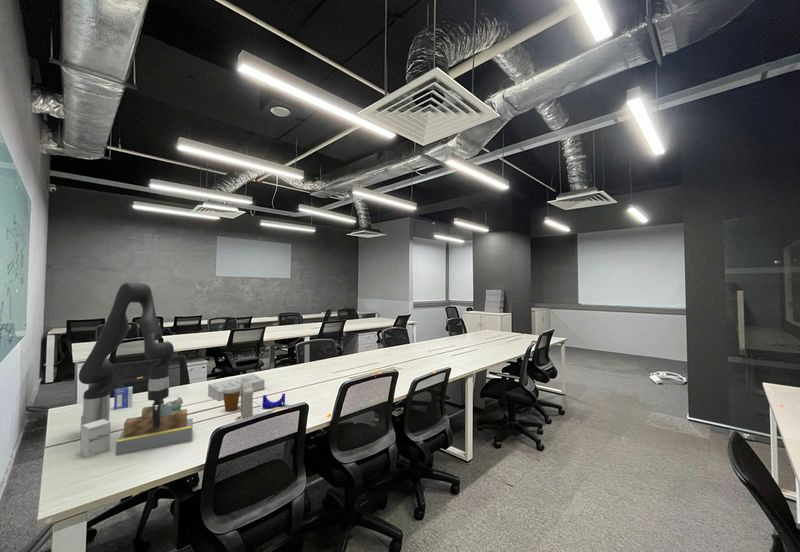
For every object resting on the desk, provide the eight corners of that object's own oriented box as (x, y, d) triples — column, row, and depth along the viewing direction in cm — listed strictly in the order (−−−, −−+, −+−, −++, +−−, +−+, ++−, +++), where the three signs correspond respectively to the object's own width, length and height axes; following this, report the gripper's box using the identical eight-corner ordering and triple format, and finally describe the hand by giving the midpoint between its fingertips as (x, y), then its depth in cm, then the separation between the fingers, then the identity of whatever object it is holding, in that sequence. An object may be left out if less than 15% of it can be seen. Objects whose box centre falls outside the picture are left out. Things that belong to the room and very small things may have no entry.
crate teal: (159, 416, 142) (160, 407, 142) (161, 413, 145) (161, 404, 145) (170, 414, 144) (171, 405, 144) (171, 411, 147) (172, 403, 147)
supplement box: (86, 460, 128) (87, 428, 129) (79, 455, 132) (80, 424, 132) (110, 451, 135) (111, 421, 135) (102, 447, 139) (103, 418, 139)
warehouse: (218, 401, 195) (219, 388, 196) (208, 396, 204) (208, 384, 204) (264, 388, 220) (264, 377, 220) (253, 384, 228) (253, 374, 228)
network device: (257, 430, 155) (257, 389, 155) (237, 434, 151) (237, 392, 151) (252, 412, 177) (253, 376, 178) (234, 415, 173) (235, 378, 173)
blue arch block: (262, 408, 184) (262, 397, 184) (263, 405, 188) (263, 395, 188) (284, 406, 187) (284, 395, 187) (284, 403, 191) (285, 393, 191)
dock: (115, 457, 131) (116, 441, 131) (122, 444, 141) (122, 430, 141) (191, 441, 144) (191, 427, 144) (192, 430, 154) (192, 417, 155)
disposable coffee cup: (239, 410, 180) (240, 389, 180) (220, 412, 176) (221, 391, 177) (241, 404, 189) (241, 384, 189) (223, 406, 185) (223, 386, 186)
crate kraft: (141, 419, 139) (141, 410, 139) (143, 416, 142) (143, 407, 142) (153, 417, 141) (153, 408, 141) (154, 414, 144) (154, 405, 144)
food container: (167, 426, 159) (167, 406, 160) (157, 425, 161) (157, 405, 161) (188, 416, 172) (188, 397, 172) (178, 415, 173) (179, 396, 173)
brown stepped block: (123, 437, 135) (124, 423, 135) (126, 432, 140) (126, 418, 140) (186, 426, 146) (186, 412, 146) (186, 421, 151) (187, 408, 151)
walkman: (114, 411, 178) (114, 389, 179) (114, 410, 180) (114, 388, 181) (132, 407, 184) (133, 386, 184) (132, 406, 186) (132, 385, 186)
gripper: (150, 384, 148) (149, 420, 147) (145, 393, 135) (144, 432, 135) (170, 382, 151) (169, 416, 151) (167, 390, 139) (166, 428, 139)
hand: (157, 424), depth 143 cm, fingers open, 7 cm apart
